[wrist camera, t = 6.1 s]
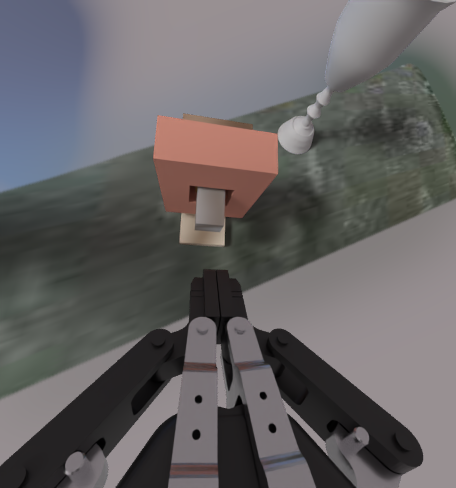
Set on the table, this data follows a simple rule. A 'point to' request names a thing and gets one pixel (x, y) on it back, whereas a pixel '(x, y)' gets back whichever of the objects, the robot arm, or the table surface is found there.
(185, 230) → the pipe stand
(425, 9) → the chalice
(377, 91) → the table surface
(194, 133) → the pink block with hole
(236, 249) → the table surface
